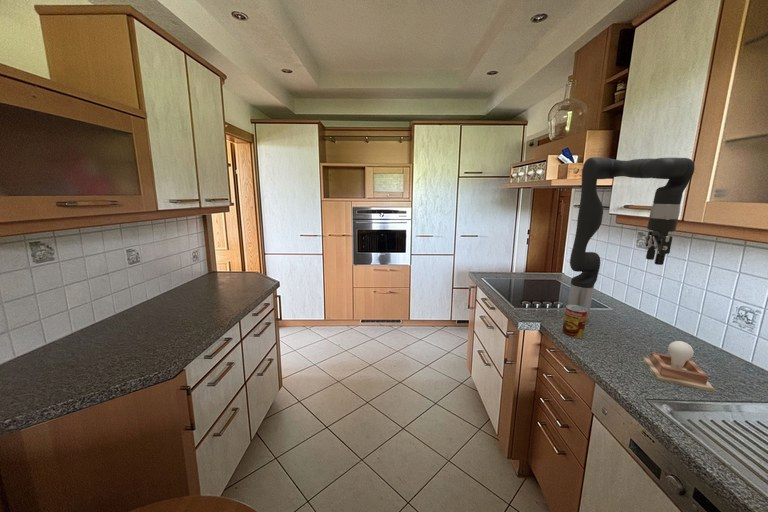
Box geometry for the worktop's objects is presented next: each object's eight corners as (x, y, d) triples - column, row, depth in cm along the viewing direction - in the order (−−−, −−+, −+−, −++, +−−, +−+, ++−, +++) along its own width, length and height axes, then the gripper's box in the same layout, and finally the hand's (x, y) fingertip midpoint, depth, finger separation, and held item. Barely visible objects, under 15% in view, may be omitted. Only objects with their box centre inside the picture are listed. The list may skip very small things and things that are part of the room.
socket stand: (642, 358, 112) (644, 349, 111) (692, 368, 106) (694, 358, 105) (657, 380, 99) (659, 369, 98) (714, 392, 94) (717, 380, 93)
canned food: (558, 331, 133) (562, 306, 130) (568, 328, 136) (572, 303, 134) (576, 339, 126) (580, 312, 123) (587, 335, 129) (591, 309, 127)
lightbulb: (679, 378, 99) (686, 347, 96) (658, 367, 105) (665, 338, 102) (692, 375, 100) (700, 345, 98) (671, 365, 106) (678, 336, 104)
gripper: (643, 215, 113) (634, 257, 117) (657, 218, 100) (648, 265, 104) (668, 216, 110) (659, 259, 113) (687, 219, 97) (676, 267, 101)
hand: (653, 261), depth 109 cm, fingers open, 8 cm apart
